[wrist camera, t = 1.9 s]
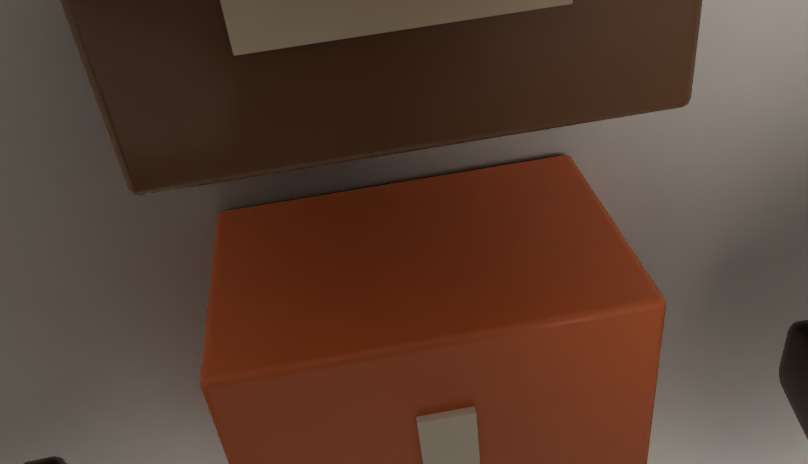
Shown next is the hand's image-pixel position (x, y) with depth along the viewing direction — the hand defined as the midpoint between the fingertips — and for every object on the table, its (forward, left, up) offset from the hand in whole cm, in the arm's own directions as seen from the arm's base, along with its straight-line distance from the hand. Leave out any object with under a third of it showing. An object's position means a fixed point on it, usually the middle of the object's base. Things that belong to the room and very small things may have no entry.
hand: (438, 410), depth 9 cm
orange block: (0, 0, -2) cm, 2 cm away
